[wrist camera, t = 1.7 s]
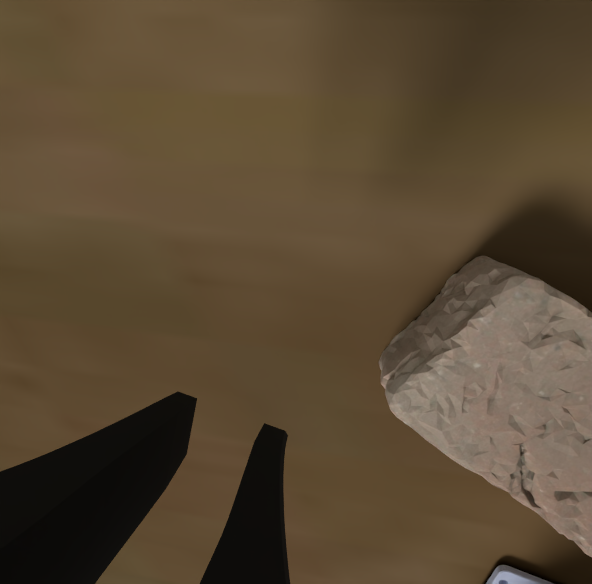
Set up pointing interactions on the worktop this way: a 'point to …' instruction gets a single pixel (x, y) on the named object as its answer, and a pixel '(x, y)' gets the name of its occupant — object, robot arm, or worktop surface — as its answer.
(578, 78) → the worktop surface
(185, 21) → the worktop surface
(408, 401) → the brick
